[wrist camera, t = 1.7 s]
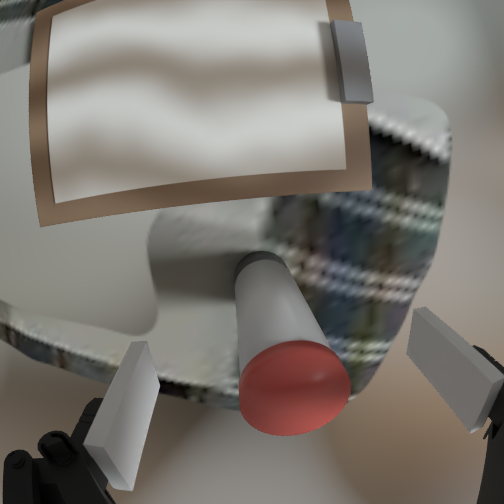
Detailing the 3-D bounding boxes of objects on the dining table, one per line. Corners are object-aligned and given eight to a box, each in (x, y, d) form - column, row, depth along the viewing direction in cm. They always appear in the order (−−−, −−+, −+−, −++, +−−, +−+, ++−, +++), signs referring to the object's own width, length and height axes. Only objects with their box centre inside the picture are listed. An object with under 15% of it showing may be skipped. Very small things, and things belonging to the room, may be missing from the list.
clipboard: (44, 18, 15) (29, 7, 13) (335, -23, 17) (345, -39, 14) (50, 223, 21) (32, 230, 18) (363, 188, 22) (379, 191, 19)
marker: (229, 252, 22) (233, 363, 10) (288, 247, 22) (355, 346, 10) (235, 306, 23) (245, 441, 11) (291, 300, 24) (345, 425, 11)
